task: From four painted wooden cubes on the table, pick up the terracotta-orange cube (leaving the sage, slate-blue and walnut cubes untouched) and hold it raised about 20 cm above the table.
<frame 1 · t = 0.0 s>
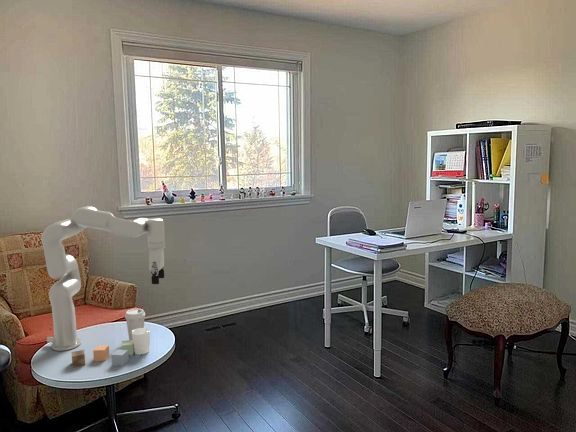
hand: (158, 280, 212), 31 cm above the table, fingers open, 9 cm apart
slate block: (120, 363, 197), on the table
sage block: (127, 353, 207), on the table, touching white cup
coffee cup: (136, 341, 220), on the table
terracotta block: (101, 358, 202), on the table
walnut block: (78, 363, 197), on the table
white cup: (141, 352, 208), on the table, touching sage block
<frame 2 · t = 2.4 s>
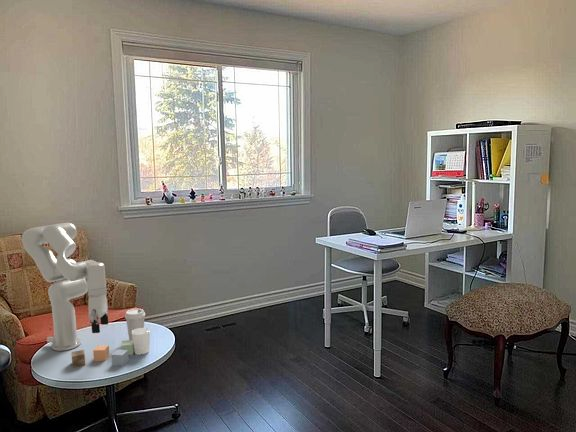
hand: (100, 328, 199), 14 cm above the table, fingers open, 9 cm apart
sage block: (127, 353, 207), on the table
white cup: (141, 352, 208), on the table
everything else where it was.
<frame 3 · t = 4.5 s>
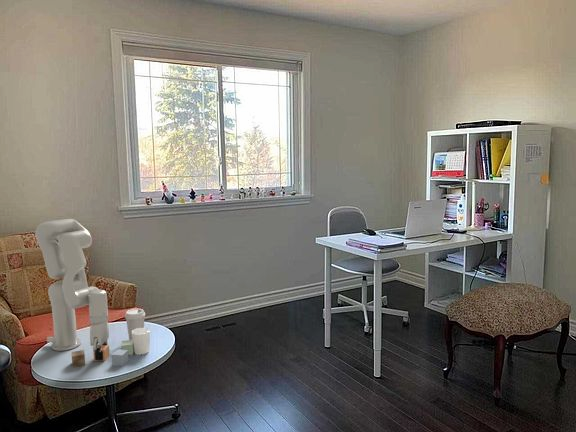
hand: (101, 356, 202), 1 cm above the table, fingers closed on terracotta block, 5 cm apart
terracotta block: (101, 358, 202), on the table, touching gripper
everything else where it was.
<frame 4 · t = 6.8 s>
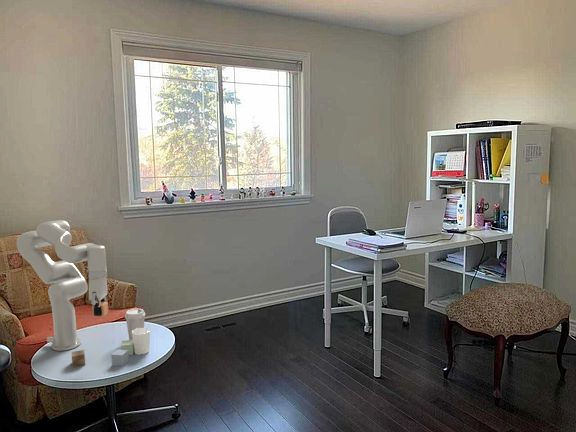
hand: (100, 312, 201), 20 cm above the table, fingers closed on terracotta block, 4 cm apart
terracotta block: (100, 314, 201), point 20 cm above the table, touching gripper
everything else where it was.
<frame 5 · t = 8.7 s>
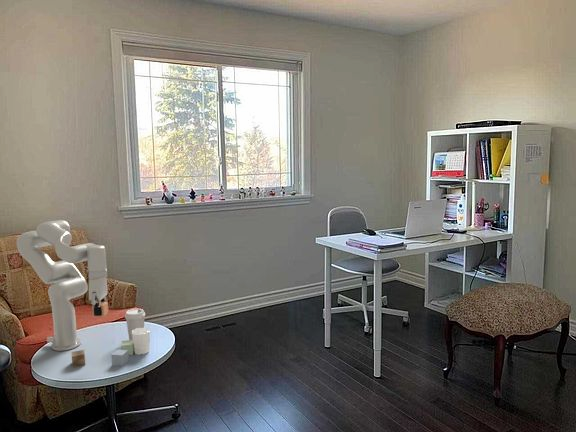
hand: (100, 312, 201), 20 cm above the table, fingers closed on terracotta block, 4 cm apart
terracotta block: (100, 314, 201), point 20 cm above the table, touching gripper
everything else where it was.
at the end: the gripper is holding terracotta block; terracotta block point 19.6 cm above the table; walnut block moved 0.1 cm from its start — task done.
